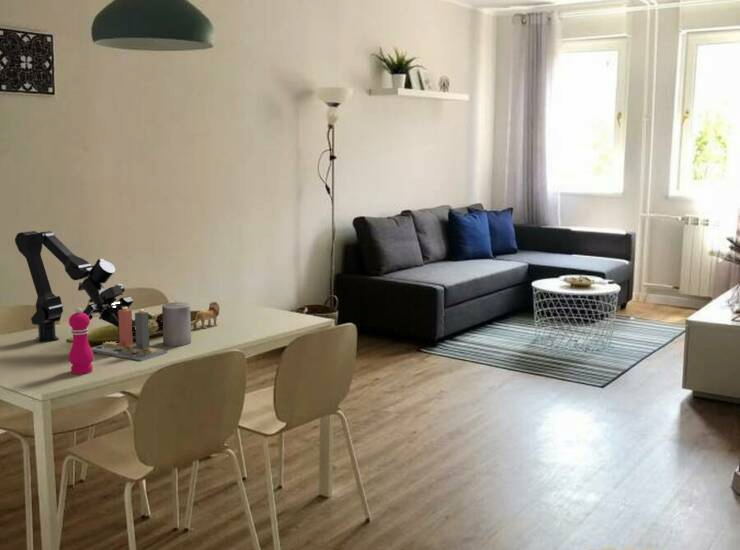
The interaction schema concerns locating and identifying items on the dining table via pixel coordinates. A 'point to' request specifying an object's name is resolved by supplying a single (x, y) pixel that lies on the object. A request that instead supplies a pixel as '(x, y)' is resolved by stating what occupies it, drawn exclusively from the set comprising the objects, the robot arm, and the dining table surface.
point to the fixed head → (141, 330)
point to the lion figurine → (207, 315)
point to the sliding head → (125, 327)
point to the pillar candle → (176, 324)
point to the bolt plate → (128, 351)
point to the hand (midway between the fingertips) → (121, 327)
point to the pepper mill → (80, 344)
